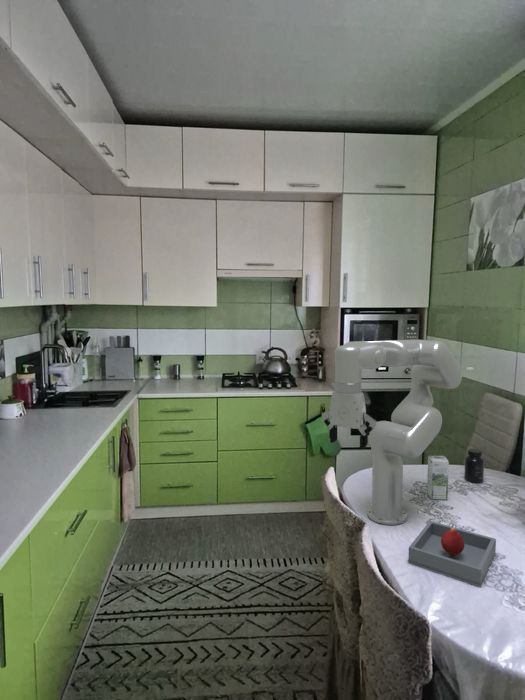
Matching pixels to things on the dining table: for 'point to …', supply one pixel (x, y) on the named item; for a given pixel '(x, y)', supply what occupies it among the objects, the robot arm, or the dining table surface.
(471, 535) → the tray
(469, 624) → the dining table surface
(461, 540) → the onion
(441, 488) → the syrup box
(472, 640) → the dining table surface
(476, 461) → the supplement bottle
